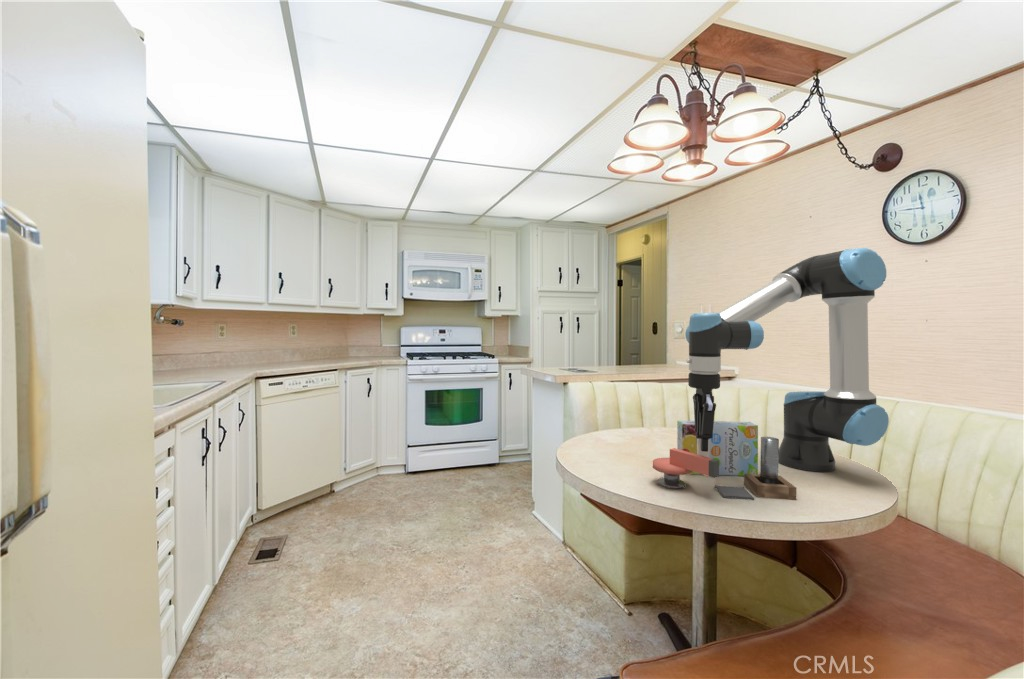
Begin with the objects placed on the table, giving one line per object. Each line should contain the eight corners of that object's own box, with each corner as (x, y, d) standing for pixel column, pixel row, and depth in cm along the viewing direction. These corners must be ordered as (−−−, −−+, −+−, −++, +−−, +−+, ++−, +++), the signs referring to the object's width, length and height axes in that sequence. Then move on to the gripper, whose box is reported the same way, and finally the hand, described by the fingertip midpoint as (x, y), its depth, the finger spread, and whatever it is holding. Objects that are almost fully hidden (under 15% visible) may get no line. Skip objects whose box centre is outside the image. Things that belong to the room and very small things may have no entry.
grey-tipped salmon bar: (728, 479, 107) (728, 458, 107) (704, 487, 102) (704, 464, 101) (668, 460, 122) (668, 442, 122) (644, 466, 117) (645, 446, 117)
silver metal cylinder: (773, 489, 112) (774, 436, 111) (780, 495, 108) (781, 440, 107) (757, 488, 112) (758, 436, 112) (763, 494, 108) (764, 440, 108)
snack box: (749, 471, 127) (750, 421, 126) (758, 477, 121) (759, 425, 121) (676, 468, 129) (677, 419, 129) (681, 474, 123) (682, 423, 123)
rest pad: (743, 489, 112) (743, 487, 112) (753, 499, 105) (753, 497, 105) (715, 487, 113) (715, 485, 113) (723, 497, 106) (723, 495, 106)
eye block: (780, 486, 114) (780, 475, 114) (796, 499, 105) (796, 487, 105) (744, 484, 115) (744, 473, 115) (757, 497, 106) (757, 485, 106)
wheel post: (682, 480, 118) (682, 466, 118) (688, 489, 111) (688, 474, 111) (656, 478, 119) (656, 464, 119) (660, 488, 112) (660, 473, 112)
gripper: (683, 369, 116) (682, 454, 117) (695, 375, 104) (693, 469, 104) (712, 370, 115) (711, 455, 116) (727, 375, 102) (726, 471, 103)
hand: (702, 462), depth 110 cm, fingers closed
